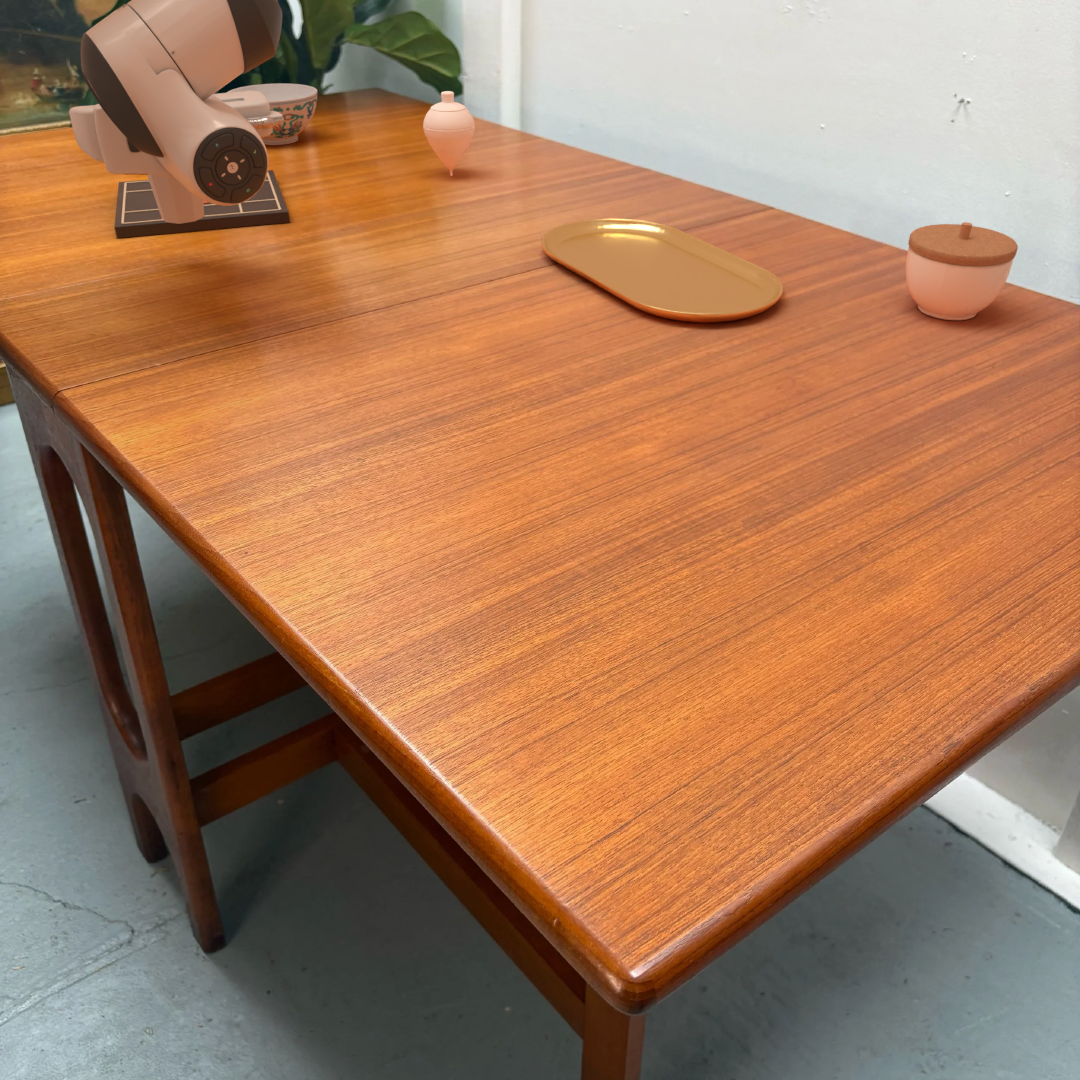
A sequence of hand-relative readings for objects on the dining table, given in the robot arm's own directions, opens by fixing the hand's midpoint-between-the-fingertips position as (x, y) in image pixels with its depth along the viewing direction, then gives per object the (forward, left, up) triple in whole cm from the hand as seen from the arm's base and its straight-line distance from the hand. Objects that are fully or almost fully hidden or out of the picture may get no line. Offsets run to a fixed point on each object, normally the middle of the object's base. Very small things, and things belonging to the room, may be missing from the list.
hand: (159, 107), depth 113 cm
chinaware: (+16, +60, -18) cm, 64 cm away
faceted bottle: (0, -1, -12) cm, 12 cm away
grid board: (+2, +24, -18) cm, 29 cm away
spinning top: (+39, +29, -18) cm, 52 cm away
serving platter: (+52, -20, -18) cm, 59 cm away
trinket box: (+78, -40, -18) cm, 90 cm away
